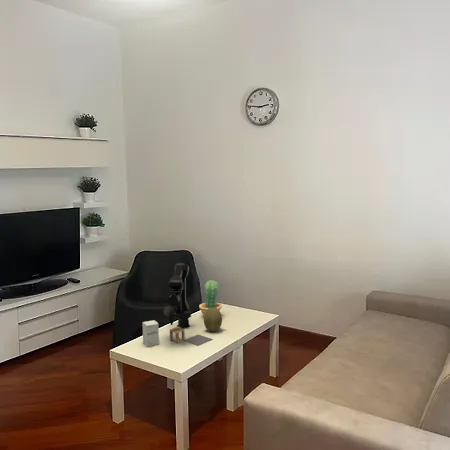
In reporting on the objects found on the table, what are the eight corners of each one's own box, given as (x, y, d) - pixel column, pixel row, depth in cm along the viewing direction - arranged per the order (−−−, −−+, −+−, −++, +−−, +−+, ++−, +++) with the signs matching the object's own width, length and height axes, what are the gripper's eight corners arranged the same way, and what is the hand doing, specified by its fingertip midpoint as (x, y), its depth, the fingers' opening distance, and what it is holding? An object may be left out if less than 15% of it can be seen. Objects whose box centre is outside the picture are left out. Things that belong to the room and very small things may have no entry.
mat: (183, 340, 275) (183, 340, 275) (198, 335, 284) (198, 334, 284) (198, 345, 267) (198, 345, 267) (212, 339, 276) (212, 339, 276)
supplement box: (146, 347, 266) (146, 325, 265) (142, 342, 273) (142, 321, 271) (159, 344, 270) (158, 323, 268) (155, 340, 276) (154, 319, 274)
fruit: (225, 331, 290) (225, 307, 288) (211, 335, 283) (211, 311, 281) (214, 326, 299) (214, 303, 297) (200, 330, 291) (199, 306, 290)
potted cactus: (224, 319, 311) (224, 282, 308) (201, 322, 307) (201, 284, 304) (219, 312, 326) (218, 277, 323) (197, 314, 322) (196, 278, 319)
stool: (170, 340, 275) (169, 329, 274) (177, 337, 280) (177, 326, 279) (177, 343, 271) (176, 331, 270) (184, 340, 276) (184, 328, 275)
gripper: (154, 300, 273) (155, 327, 275) (176, 307, 260) (177, 334, 262) (169, 296, 281) (170, 322, 283) (191, 302, 269) (192, 328, 271)
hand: (177, 326), depth 275 cm, fingers open, 9 cm apart
